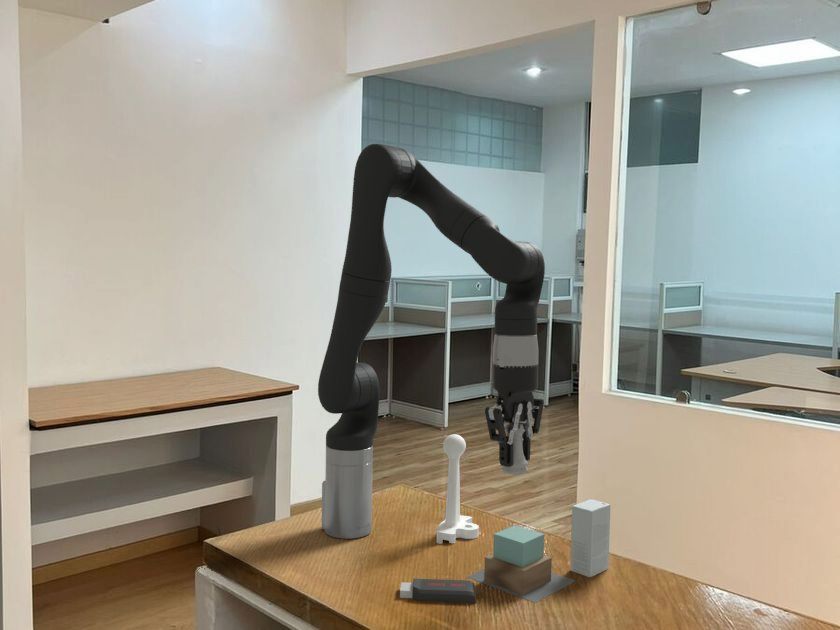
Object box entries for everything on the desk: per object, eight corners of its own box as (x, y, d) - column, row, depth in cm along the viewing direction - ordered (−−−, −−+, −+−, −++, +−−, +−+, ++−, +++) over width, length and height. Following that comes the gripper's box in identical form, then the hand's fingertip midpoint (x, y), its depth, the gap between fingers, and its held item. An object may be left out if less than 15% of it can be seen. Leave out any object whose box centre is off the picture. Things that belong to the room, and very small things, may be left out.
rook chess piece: (527, 475, 128) (527, 427, 127) (500, 474, 129) (500, 426, 128) (529, 469, 132) (529, 422, 132) (502, 467, 133) (503, 421, 133)
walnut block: (484, 580, 131) (484, 557, 130) (512, 567, 137) (513, 544, 136) (523, 594, 125) (524, 570, 125) (550, 580, 131) (551, 557, 131)
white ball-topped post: (451, 524, 159) (453, 427, 158) (486, 530, 156) (489, 431, 155) (431, 542, 149) (433, 439, 147) (468, 548, 146) (471, 443, 144)
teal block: (493, 557, 130) (493, 533, 130) (514, 547, 135) (515, 525, 135) (522, 567, 126) (523, 543, 126) (543, 557, 131) (544, 534, 130)
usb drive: (475, 608, 122) (476, 591, 122) (399, 605, 122) (399, 588, 122) (474, 594, 127) (475, 577, 127) (401, 591, 128) (401, 575, 127)
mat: (466, 579, 132) (466, 576, 132) (508, 559, 141) (508, 557, 141) (535, 605, 123) (535, 602, 123) (575, 583, 131) (575, 580, 131)
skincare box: (588, 563, 140) (590, 498, 139) (609, 570, 137) (611, 504, 136) (568, 572, 136) (571, 505, 135) (589, 580, 133) (592, 511, 132)
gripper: (521, 356, 137) (521, 452, 138) (471, 363, 127) (470, 467, 128) (558, 359, 132) (557, 459, 133) (508, 367, 122) (507, 475, 123)
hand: (514, 462), depth 130 cm, fingers closed on rook chess piece, 4 cm apart
